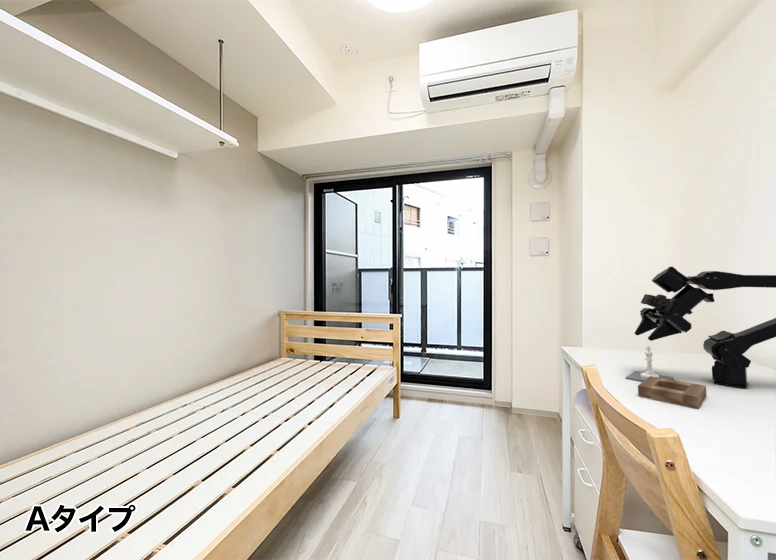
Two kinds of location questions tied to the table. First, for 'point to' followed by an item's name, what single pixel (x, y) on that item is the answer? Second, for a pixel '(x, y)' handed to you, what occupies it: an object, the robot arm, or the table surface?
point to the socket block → (673, 391)
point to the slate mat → (637, 377)
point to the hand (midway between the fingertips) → (642, 336)
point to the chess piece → (649, 365)
